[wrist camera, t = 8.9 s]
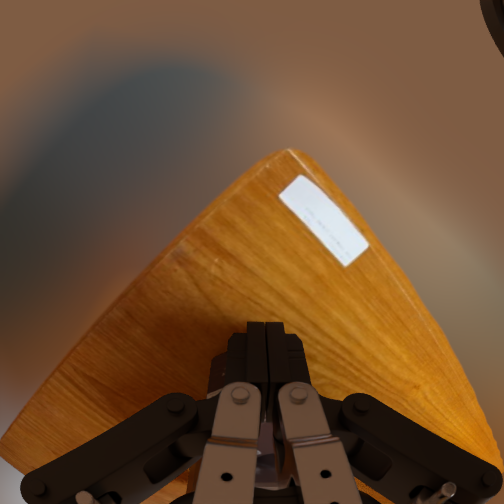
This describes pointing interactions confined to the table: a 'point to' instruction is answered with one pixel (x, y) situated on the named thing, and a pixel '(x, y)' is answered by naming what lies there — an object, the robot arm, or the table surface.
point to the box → (217, 385)
